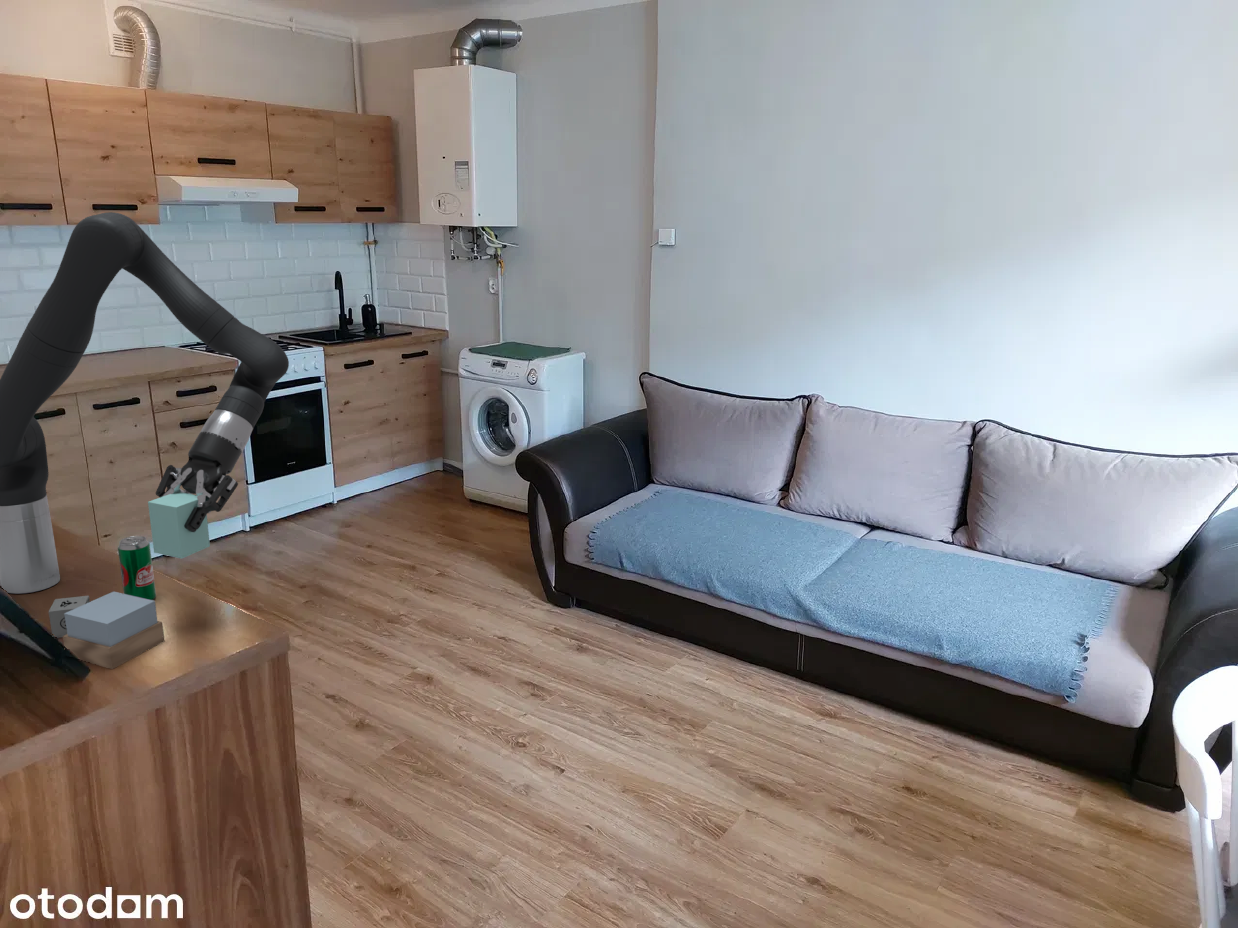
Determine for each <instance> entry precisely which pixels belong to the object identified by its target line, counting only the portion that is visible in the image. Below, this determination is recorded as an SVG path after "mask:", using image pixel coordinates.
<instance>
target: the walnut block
mask: <svg viewBox="0 0 1238 928" xmlns="http://www.w3.org/2000/svg"><path fill="white" fill-rule="evenodd" d="M157 621H158V623H156V624H154V625H152V626H150V627H149V628H147V629H145V630H143V631H141V632H139V633H137V634H135V635H133V636H131V637H129V638H127V639H125V640H123V641H121V642H119V643H117V644H115V645H113V646H111V647H109V646H105V645H101V644H97V643H93V642H89V641H85V640H81V639H77V638H73V637H69V636H68V634H66V635H64V636H63V637H62V640H63V641H62V642H63V647H64V646H65V647H66V648H67V649H70V650H71V651H72V652H73V653H74V654H75V655H76V656H77V657H79V658H80V659H81V660H83V661H82V662H84V661H86V662H85V663H88V662H90V663H89V664H92V665H95V664H96V665H95V666H100V667H103V668H106V669H110V670H114V669H115V668H117V667H119V666H121V665H123V664H125V663H126V662H128V661H130V660H132V659H134V658H136V657H137V656H140V655H141V654H144V653H145V652H147V651H149V650H152V649H153V648H155V647H156V646H159V645H160V644H162V643H164V642H165V635H164V634H165V633H164V626H163V621H160V620H157ZM148 649H149V650H148ZM146 650H147V651H146ZM143 652H144V653H143ZM81 660H80V661H81Z"/></svg>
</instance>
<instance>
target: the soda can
mask: <svg viewBox="0 0 1238 928" xmlns="http://www.w3.org/2000/svg"><path fill="white" fill-rule="evenodd" d="M147 539H148V538H147V537H146V536H145V535H144V536H143V535H132V536H128V537H127V536H126V537H124V538H122V539H120V540H119V541H118V542H119V543H118V544H119V545H118V546H117V552H118V553H117V555H118V558H119V559H118V560H119V567H120V574H121V582H122V583H121V584H122V590H123V594H127V595H131V596H136V597H140V598H144V599H149V600H153V601H155V598H157V591H156V583H155V576H154V568H153V561H152V553H151V551H152V550H151V545H150V541H148V540H147Z"/></svg>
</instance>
